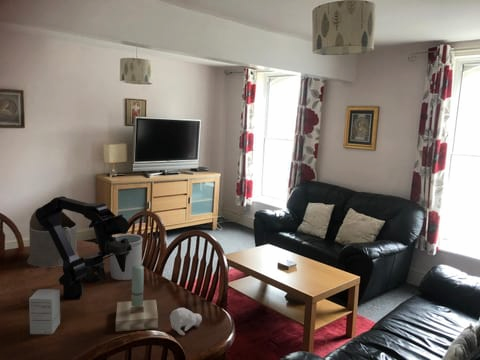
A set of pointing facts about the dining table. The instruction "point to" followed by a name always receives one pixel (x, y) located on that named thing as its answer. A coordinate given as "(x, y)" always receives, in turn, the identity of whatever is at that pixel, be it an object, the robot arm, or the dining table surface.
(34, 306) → the supplement box
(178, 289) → the dining table surface
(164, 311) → the dining table surface
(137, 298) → the plug
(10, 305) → the dining table surface
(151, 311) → the square hole wooden block
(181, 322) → the white rounded figure
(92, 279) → the end cap
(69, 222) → the gray lidded bin
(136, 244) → the utensil holder
